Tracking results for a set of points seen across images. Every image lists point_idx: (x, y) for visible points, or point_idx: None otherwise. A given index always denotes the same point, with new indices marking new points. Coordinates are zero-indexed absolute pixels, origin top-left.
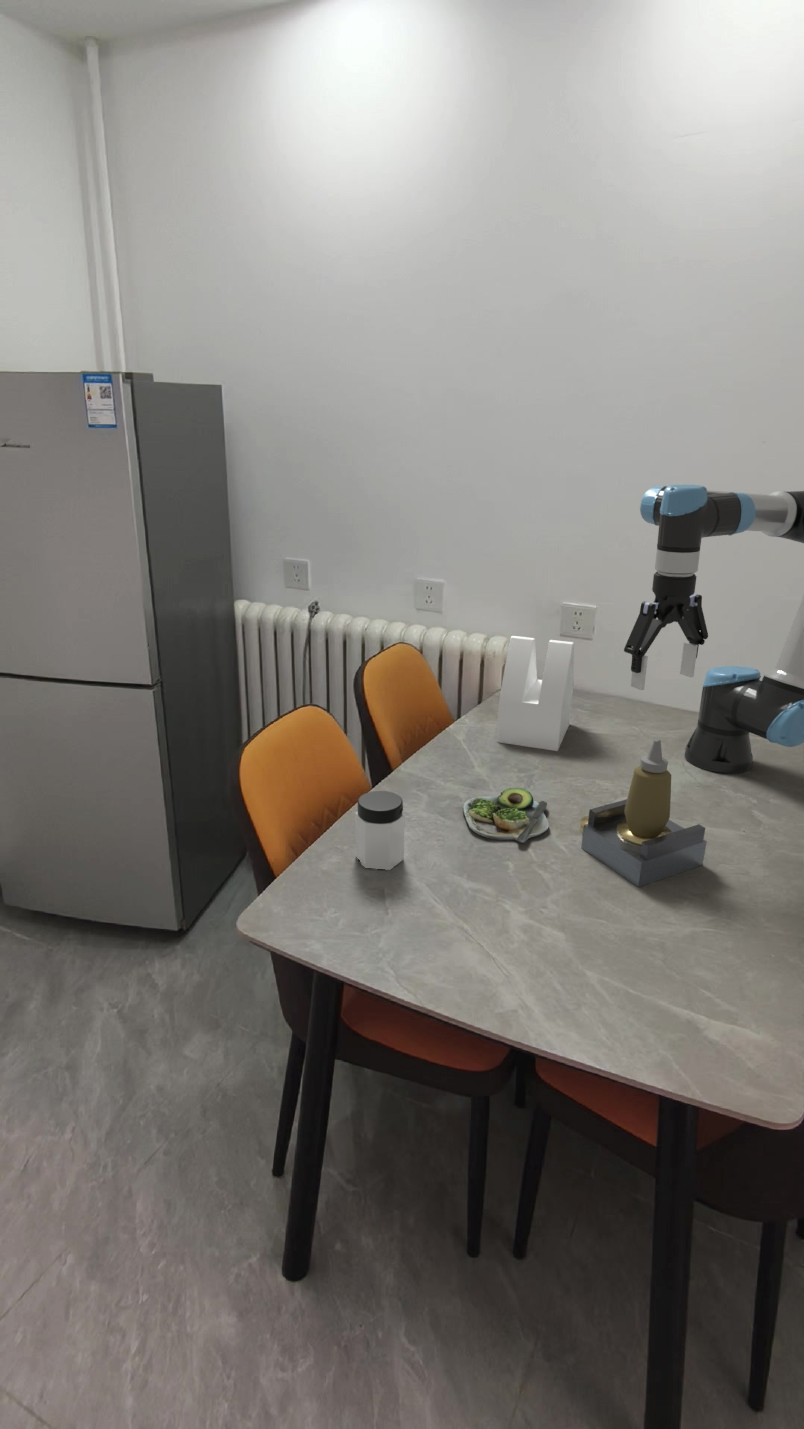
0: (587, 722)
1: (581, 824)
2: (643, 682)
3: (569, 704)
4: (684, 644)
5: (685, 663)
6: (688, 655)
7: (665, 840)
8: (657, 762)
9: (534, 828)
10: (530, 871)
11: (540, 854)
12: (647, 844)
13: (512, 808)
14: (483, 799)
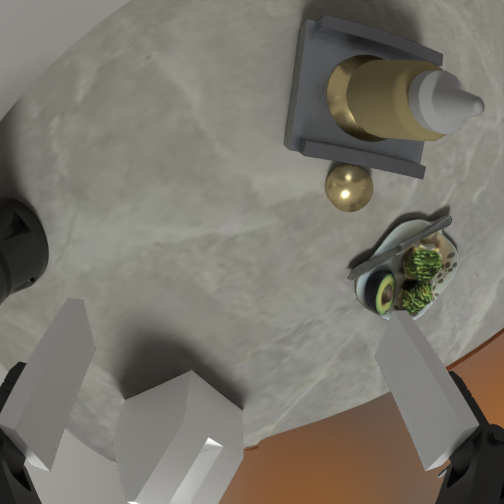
0: (101, 392)
1: (368, 199)
2: (414, 331)
3: (130, 421)
4: (50, 460)
5: (72, 371)
6: (53, 397)
7: (412, 41)
8: (456, 87)
9: (416, 231)
10: (473, 172)
11: (443, 189)
12: (440, 56)
13: (418, 273)
14: None
